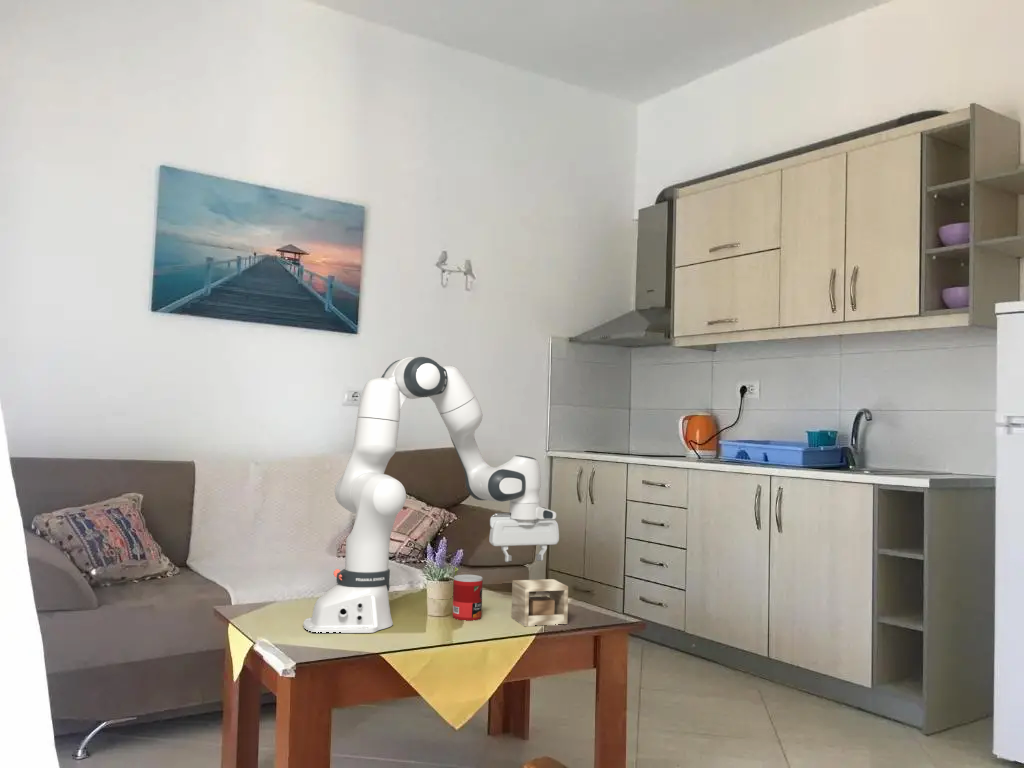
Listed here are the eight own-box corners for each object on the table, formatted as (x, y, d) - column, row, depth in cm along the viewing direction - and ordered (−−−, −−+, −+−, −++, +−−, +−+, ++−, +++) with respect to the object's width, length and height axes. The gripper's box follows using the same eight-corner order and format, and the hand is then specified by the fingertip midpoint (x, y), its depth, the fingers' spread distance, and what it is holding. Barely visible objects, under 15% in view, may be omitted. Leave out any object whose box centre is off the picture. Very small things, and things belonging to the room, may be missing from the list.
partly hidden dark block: (532, 624, 225) (533, 601, 225) (509, 609, 244) (510, 587, 244) (554, 623, 227) (554, 600, 227) (529, 608, 245) (530, 587, 246)
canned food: (477, 622, 226) (479, 580, 227) (448, 619, 228) (450, 578, 229) (484, 616, 234) (485, 575, 234) (456, 614, 235) (457, 573, 236)
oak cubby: (524, 626, 222) (525, 587, 223) (511, 617, 233) (512, 580, 233) (567, 624, 226) (568, 586, 227) (552, 615, 236) (553, 579, 237)
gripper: (493, 514, 238) (492, 564, 237) (561, 513, 244) (560, 561, 244) (486, 511, 244) (485, 560, 243) (553, 510, 250) (552, 558, 250)
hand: (523, 561), depth 244 cm, fingers open, 8 cm apart
